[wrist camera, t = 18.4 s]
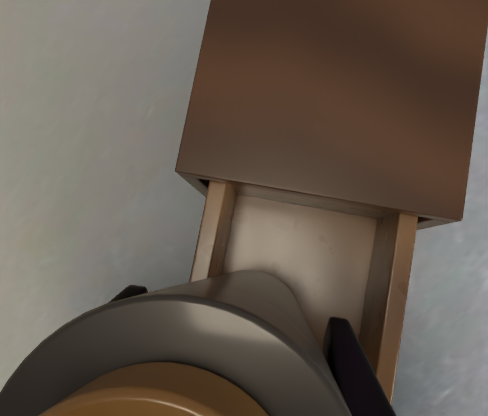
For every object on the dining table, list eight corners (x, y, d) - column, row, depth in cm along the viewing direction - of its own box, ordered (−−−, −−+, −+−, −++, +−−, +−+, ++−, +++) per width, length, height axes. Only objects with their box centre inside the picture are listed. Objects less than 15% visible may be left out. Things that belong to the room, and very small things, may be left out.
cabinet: (406, 232, 23) (462, 220, 16) (204, 197, 24) (174, 171, 17) (436, 23, 24) (501, -74, 17) (244, -1, 25) (231, -100, 18)
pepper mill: (273, 405, 16) (251, 1083, 3) (173, 350, 16) (-230, 698, 3) (323, 301, 16) (506, 468, 3) (223, 251, 17) (30, 216, 4)
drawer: (355, 528, 20) (382, 623, 15) (156, 477, 21) (116, 548, 16) (402, 211, 22) (441, 196, 17) (216, 178, 23) (197, 155, 18)
